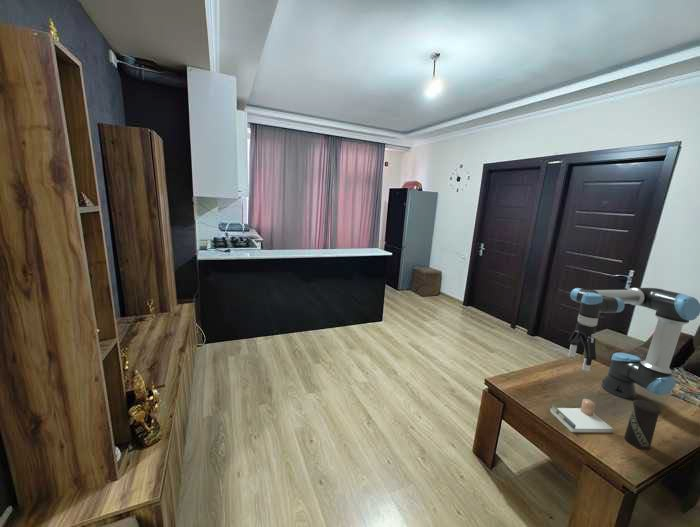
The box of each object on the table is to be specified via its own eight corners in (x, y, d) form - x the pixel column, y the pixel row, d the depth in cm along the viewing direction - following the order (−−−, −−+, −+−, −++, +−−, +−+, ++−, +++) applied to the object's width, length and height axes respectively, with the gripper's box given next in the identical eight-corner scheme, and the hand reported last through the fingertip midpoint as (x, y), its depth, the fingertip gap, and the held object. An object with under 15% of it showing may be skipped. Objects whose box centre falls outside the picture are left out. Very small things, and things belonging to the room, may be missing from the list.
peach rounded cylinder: (587, 408, 147) (589, 398, 146) (595, 415, 142) (598, 405, 141) (577, 408, 147) (580, 398, 146) (586, 415, 142) (588, 405, 141)
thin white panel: (586, 411, 148) (587, 405, 147) (611, 432, 134) (613, 425, 134) (549, 411, 147) (550, 404, 146) (571, 432, 133) (573, 425, 133)
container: (618, 435, 133) (628, 397, 129) (635, 435, 134) (645, 397, 130) (638, 451, 124) (649, 411, 120) (656, 450, 125) (668, 410, 121)
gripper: (565, 314, 152) (558, 350, 156) (592, 333, 128) (583, 375, 132) (581, 315, 150) (574, 352, 154) (612, 335, 126) (601, 378, 130)
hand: (578, 363), depth 143 cm, fingers open, 13 cm apart
